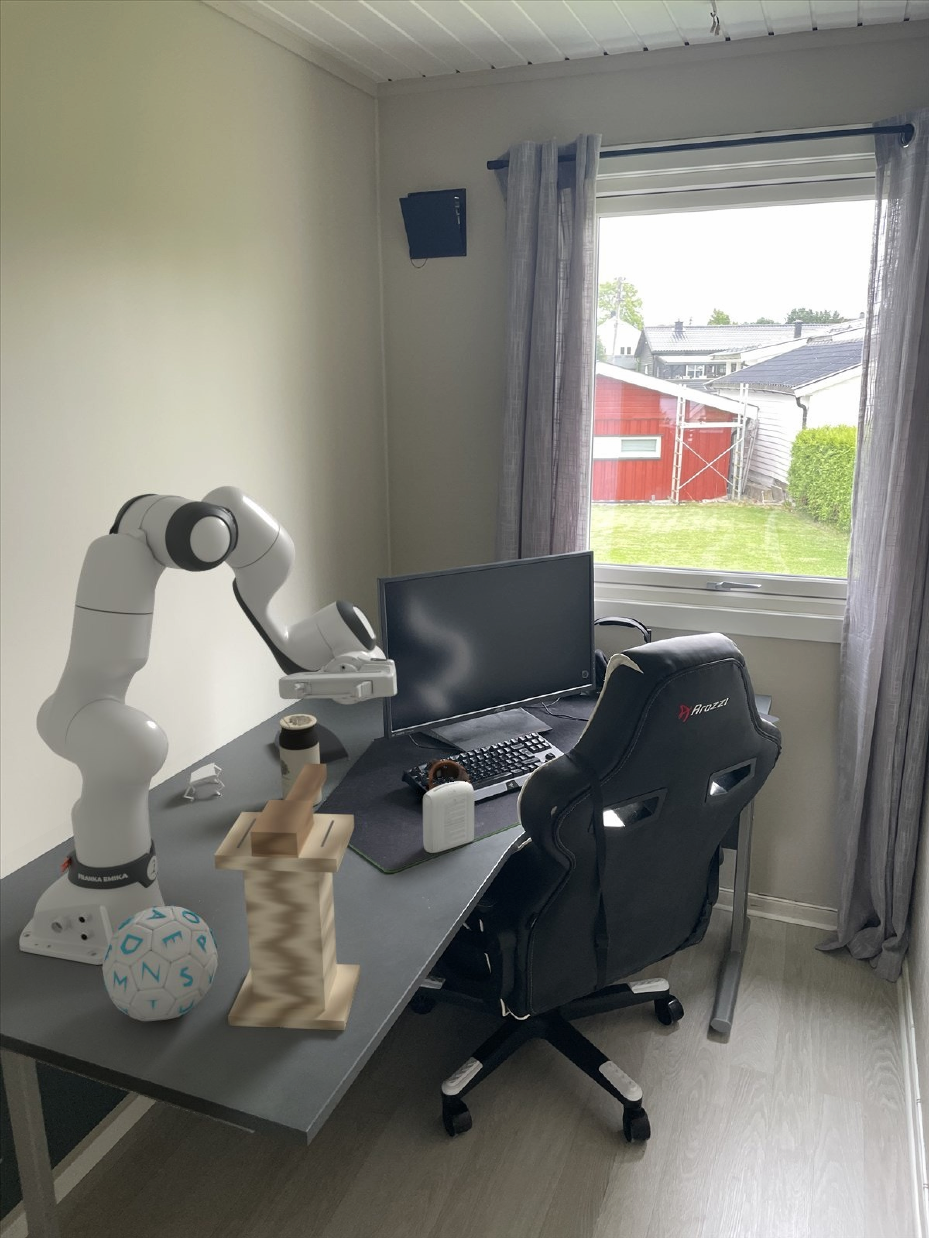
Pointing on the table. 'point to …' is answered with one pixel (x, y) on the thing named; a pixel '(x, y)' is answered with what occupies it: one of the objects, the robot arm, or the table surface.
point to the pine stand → (292, 929)
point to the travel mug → (297, 749)
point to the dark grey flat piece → (326, 746)
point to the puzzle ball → (160, 963)
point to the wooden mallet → (289, 817)
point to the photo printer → (448, 816)
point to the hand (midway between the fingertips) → (326, 693)
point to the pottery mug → (445, 771)
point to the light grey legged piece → (204, 777)
